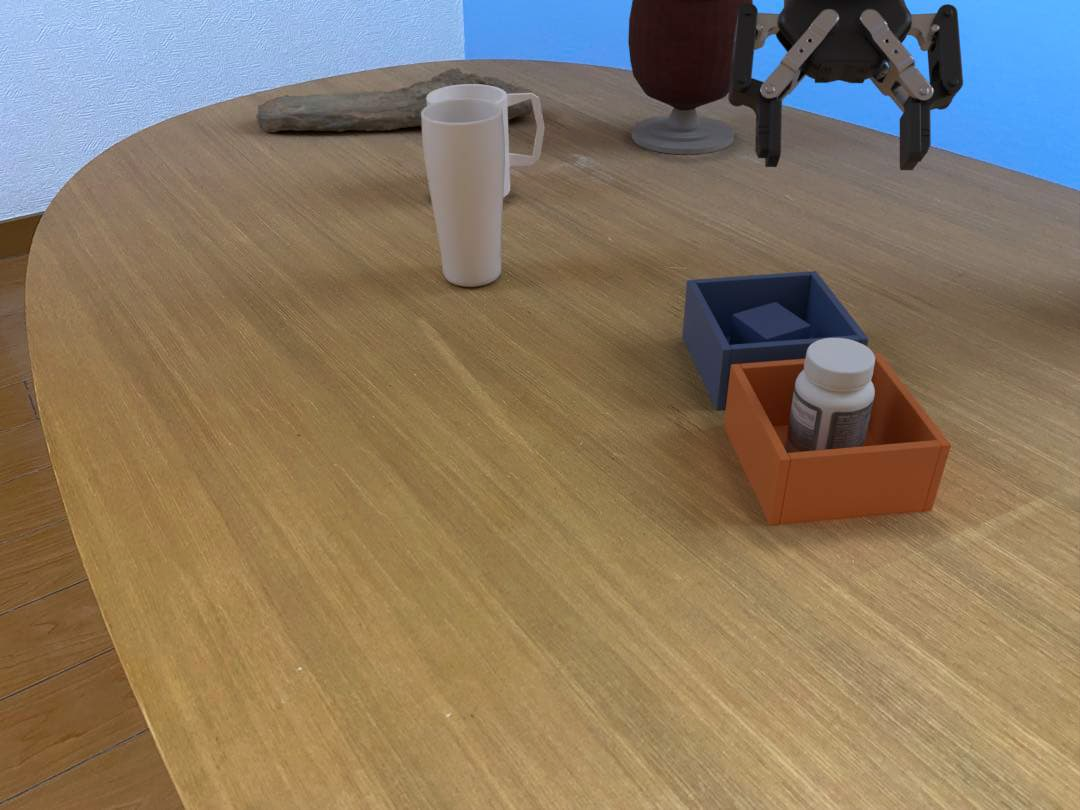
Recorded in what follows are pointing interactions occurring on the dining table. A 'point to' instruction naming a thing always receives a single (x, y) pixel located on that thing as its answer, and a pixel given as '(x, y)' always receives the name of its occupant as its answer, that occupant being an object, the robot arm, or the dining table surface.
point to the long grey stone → (371, 106)
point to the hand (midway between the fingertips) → (841, 164)
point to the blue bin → (729, 295)
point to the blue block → (767, 325)
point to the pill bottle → (832, 397)
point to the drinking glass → (466, 186)
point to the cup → (503, 101)
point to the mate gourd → (683, 70)
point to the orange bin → (833, 450)
